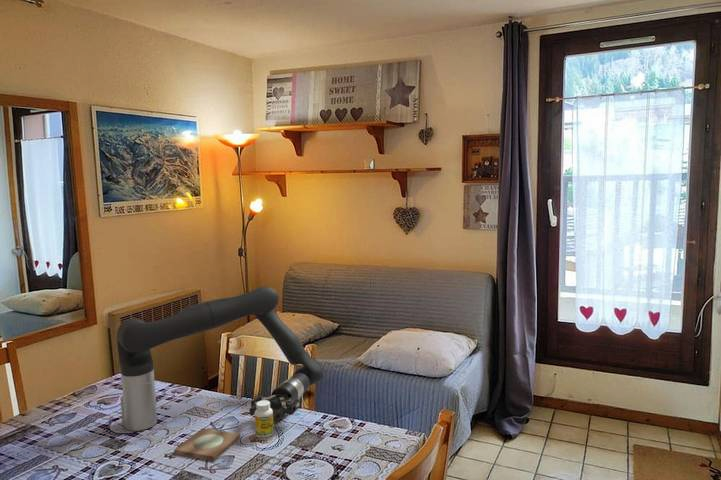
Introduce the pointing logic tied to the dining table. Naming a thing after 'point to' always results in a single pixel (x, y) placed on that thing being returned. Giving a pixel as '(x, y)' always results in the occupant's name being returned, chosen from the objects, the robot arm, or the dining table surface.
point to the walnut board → (207, 444)
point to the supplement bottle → (264, 419)
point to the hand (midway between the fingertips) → (263, 414)
